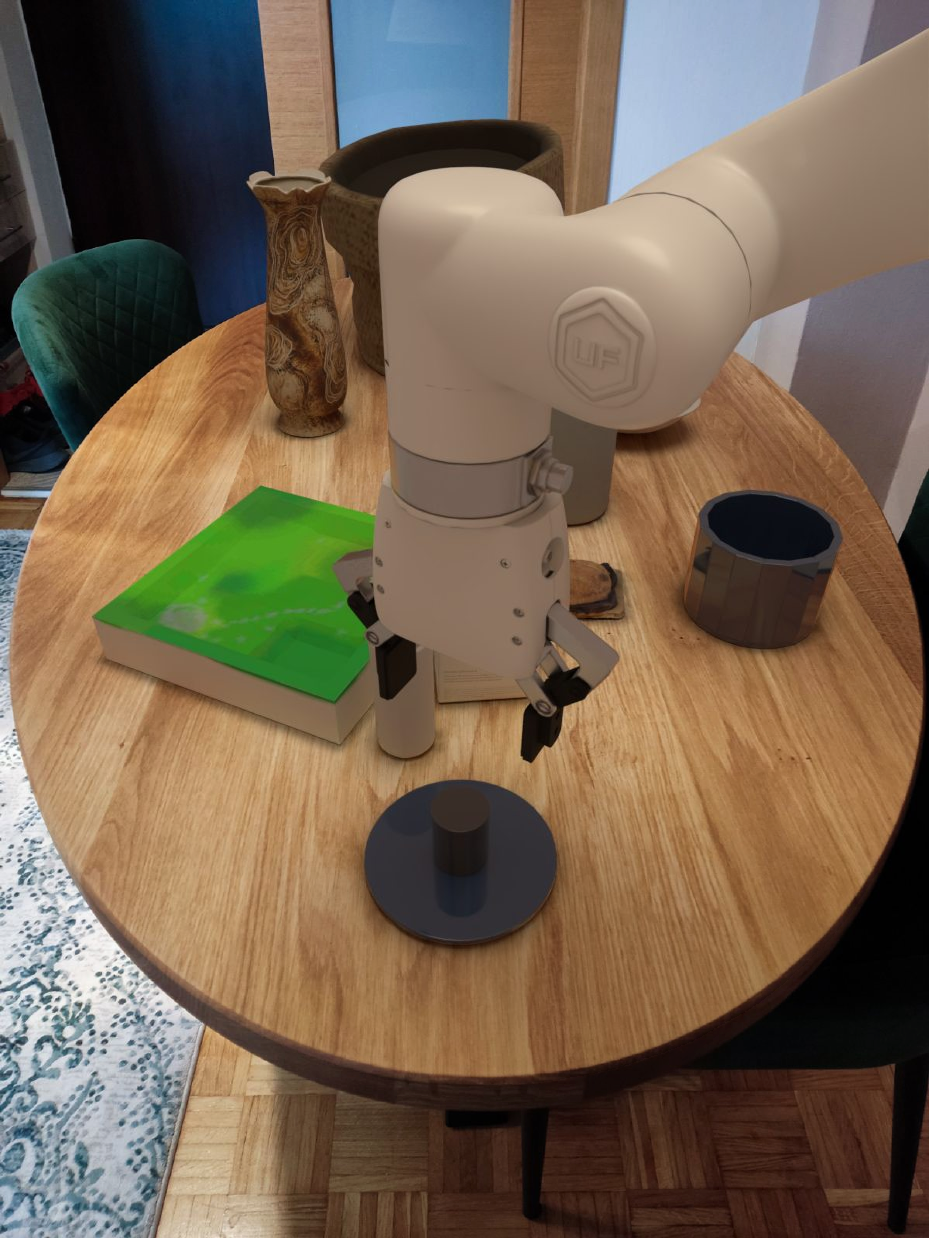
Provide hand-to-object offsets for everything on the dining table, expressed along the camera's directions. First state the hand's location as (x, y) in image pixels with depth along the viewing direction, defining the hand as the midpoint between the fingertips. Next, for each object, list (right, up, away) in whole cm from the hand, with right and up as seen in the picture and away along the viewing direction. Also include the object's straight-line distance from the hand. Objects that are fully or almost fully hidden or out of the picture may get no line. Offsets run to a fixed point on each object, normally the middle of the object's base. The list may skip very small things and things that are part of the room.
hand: (465, 714), depth 53 cm
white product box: (+2, +1, +27) cm, 27 cm away
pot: (-3, +48, +84) cm, 97 cm away
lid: (0, -11, +10) cm, 15 cm away
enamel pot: (+28, +7, +34) cm, 44 cm away
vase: (-20, +32, +65) cm, 75 cm away
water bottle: (+11, +19, +49) cm, 53 cm away
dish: (+21, +30, +63) cm, 73 cm away
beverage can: (-5, -4, +20) cm, 21 cm away
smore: (+11, +8, +36) cm, 38 cm away
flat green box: (-16, +6, +33) cm, 37 cm away
